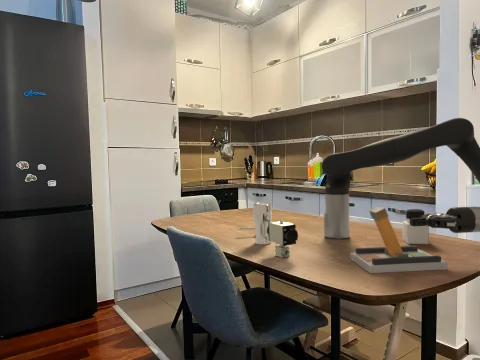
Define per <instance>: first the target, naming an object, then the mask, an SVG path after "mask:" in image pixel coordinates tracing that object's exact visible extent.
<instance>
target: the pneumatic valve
mask: <svg viewBox="0 0 480 360" xmlns="http://www.w3.org/2000/svg"><path fill="white" fill-rule="evenodd" d="M298 233H299V232H298V230H297V225H296V224H294V223H292V222H288V221H287V222H286V221H284V220H283V219H280V220H276V221H271V222H268V227H267V234H268V235H269V241H271V243H275V246H274V248H275V249H274V251H275V253H274V255H275V256H276V257H278V258H281V259H283V258H286V257H287V258H289V257H290V252H291V251H290V246H291V245H296V244H297V241H298V238H299V234H298Z"/></svg>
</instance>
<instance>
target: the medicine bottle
mask: <svg viewBox="0 0 480 360" xmlns="http://www.w3.org/2000/svg"><path fill="white" fill-rule="evenodd" d="M425 214H426V213H425V210H423V209H421V208H419V209H418V208H409V209H406V211H405V220H403V221H402V240H403V241H404V242H405V243H406V244H407V245H429V244H430V241H429V240H430V238H429V237H430V235H429V230H430V229H429V228H430V227H426V226H411V225H410V218H420V216H422V215H425Z"/></svg>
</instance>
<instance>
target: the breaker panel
mask: <svg viewBox="0 0 480 360" xmlns="http://www.w3.org/2000/svg"><path fill="white" fill-rule="evenodd" d="M384 247H385V253H367V254H357V253H356V251H355V252H350V260H351V261H353V262H354V263H356V264H357V265H358V266H359V267H361V268H363V270H364V271H366V272H368V273H369V274H378V273H379V274H380V273H382V274H383V273H398V272H399V273H400V272H419V271H420V272H421V271H422V272H424V271H439V270H448V268H449V267H448V265H449V264H448V263H449V262H448V261H446V260H443V259H442V258H441V262H429V263H408V264H388V265H373V264H372V259H376V258H397V257H418V256H434V255H433V254H430V253H428V252H427V251H426V252H425V251H424V250H421V249H419V248H418V251H410V252H403V253H396V257H394V256H393V255H391V254H389V253H388V250H387V248H386V246H384Z"/></svg>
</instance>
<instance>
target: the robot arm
mask: <svg viewBox="0 0 480 360" xmlns="http://www.w3.org/2000/svg"><path fill="white" fill-rule="evenodd" d="M444 146H446V147H448V148H449V149H450V150H451V151H452V152H454V154H455V155H456V156H458V158H460V160H461V161H462V162H463V163H464V164H465V165H466V166H467V168H468V169H469V170H470V171H471V173H472V175H473V176H474V177H475V179H476V180H477V182H478V183H479V184H480V145H479V143H478V141H477V139H476V137H475V127H474V125H473V123H472V122H471V121H470V120H469V119H466V118H463V117H454V118H451V119H448V120H445V121H443V122H440V123H437V124H435V125H432V126H430V127H426V128H422V129H419V130H416V131H412V132H408V133H405V134H401V135H398V136H397V135H396V136H392V137H389V138H386V139H382V140H379V141H376V142H373V143H370V144H368V145H365V146H362V147H360V148H357V149H353V150H348V151H344V152H337V153H330V154H328V155H327V156H325V158H324V159H323V160H322V163H321V169H322V171H323V173H324V174H326V176H327V177H326V184H325V187H324V199H325V201H324V208H325V209H324V211H325V212H324V214H323V222H324V223H323V227H324V228H323V230H324V231H323V235H324V238H330V239H339V240H340V239H347V238H350V194H349V193H350V185H351V172H354V171H356V170H359V169H366V168H375V167H381V166H387V165H392V164H396V163H401V162H404V161H406V160H409V159H411V158H413V157H415V156H417V155H419V154H421V153H422V152H425V151H427V150H431V149H435V148H439V147H444ZM410 225H411V226H426V227H429V228H432V229H447V230H448V229H449V231H450V232H452V233H454V234H463V233H465V234H466V233H479V232H480V206H459V207H454V206H453V207H450V208H449V209H447V211H446V213H442V212H439V213H436V214H431V213H425V215H422V216H420V218H410Z"/></svg>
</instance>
